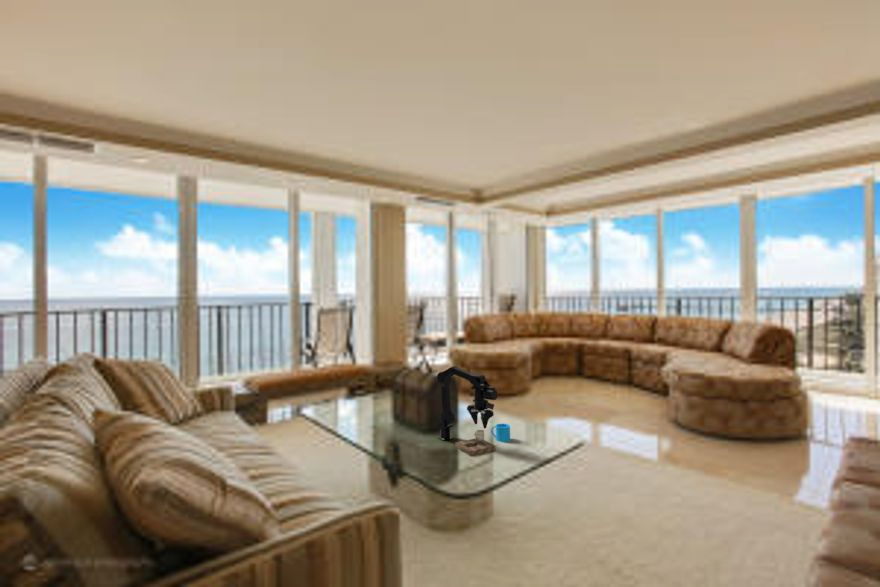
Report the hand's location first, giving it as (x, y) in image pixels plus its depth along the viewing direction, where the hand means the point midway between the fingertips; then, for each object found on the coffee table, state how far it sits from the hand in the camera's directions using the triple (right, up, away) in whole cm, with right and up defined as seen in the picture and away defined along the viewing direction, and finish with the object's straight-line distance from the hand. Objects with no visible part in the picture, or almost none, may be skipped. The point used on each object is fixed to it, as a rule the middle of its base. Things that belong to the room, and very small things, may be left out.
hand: (480, 426), depth 230 cm
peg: (0, -12, 0) cm, 12 cm away
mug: (+13, -12, +13) cm, 22 cm away
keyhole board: (-3, -12, -2) cm, 12 cm away
